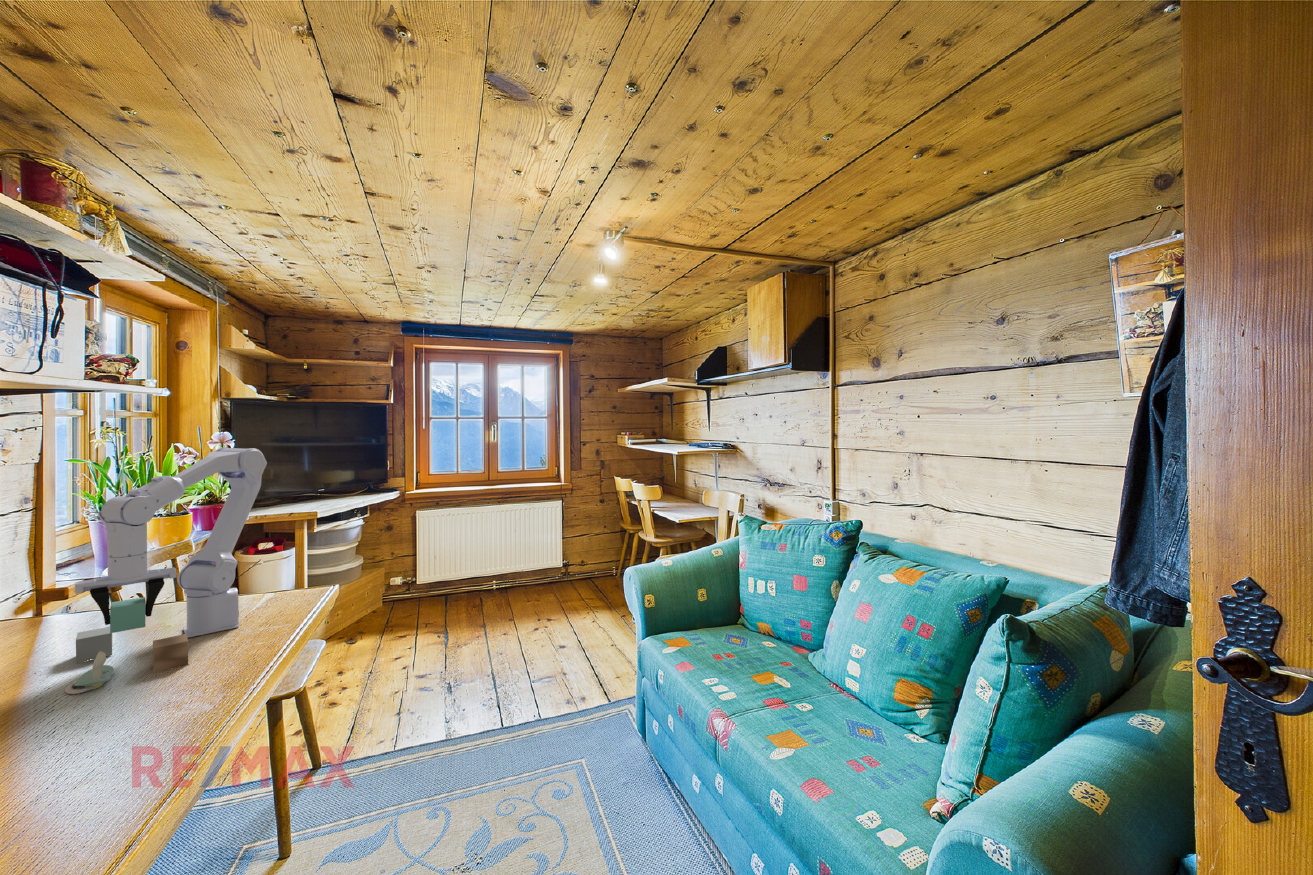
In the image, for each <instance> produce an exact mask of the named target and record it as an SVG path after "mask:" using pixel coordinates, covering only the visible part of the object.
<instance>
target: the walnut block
mask: <svg viewBox="0 0 1313 875" xmlns="http://www.w3.org/2000/svg"><path fill="white" fill-rule="evenodd" d="M188 639H189V638H187V635H186V634H185V633H184V634H179V635H174V636H170V637H168V636H167V637H164V638H160V639H155V640H154V639H153V640H152V654H153V655H152V665H153V666H152V667H153V674H156V673H160V672H161V673H162V672H164V671H168V669H169V670H172V669H171V668H173V669H177V668H181V667H184V666H189V640H188Z"/></svg>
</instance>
